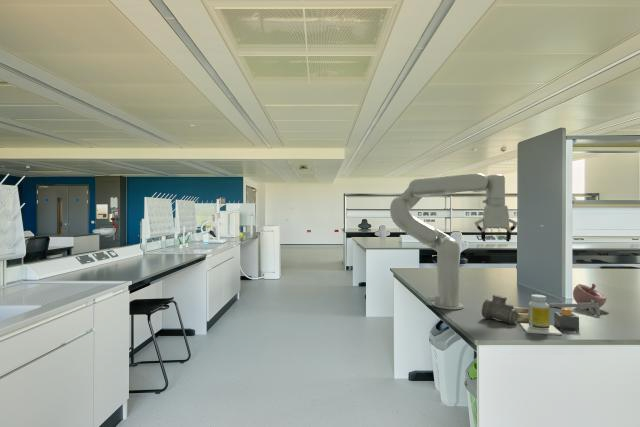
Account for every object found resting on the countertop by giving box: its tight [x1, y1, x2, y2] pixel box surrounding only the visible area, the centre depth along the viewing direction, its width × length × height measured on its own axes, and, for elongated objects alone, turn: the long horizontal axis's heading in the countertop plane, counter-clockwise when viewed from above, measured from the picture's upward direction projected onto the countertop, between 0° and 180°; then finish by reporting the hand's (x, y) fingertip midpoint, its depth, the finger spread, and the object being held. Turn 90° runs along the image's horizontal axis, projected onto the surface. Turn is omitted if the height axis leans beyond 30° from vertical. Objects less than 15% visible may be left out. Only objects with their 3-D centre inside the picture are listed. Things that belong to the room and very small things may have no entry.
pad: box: [519, 322, 563, 336], centre depth 132 cm, size 11×10×1 cm
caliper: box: [547, 300, 601, 317], centre depth 160 cm, size 21×1×6 cm, turn 31°
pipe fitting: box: [481, 294, 518, 325], centre depth 143 cm, size 12×8×10 cm
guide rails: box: [514, 306, 529, 323], centre depth 147 cm, size 10×11×3 cm
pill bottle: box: [528, 294, 550, 330], centre depth 133 cm, size 6×6×12 cm
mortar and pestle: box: [572, 283, 607, 310], centre depth 162 cm, size 12×12×12 cm
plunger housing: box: [553, 311, 580, 332], centre depth 134 cm, size 6×6×5 cm
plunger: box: [560, 307, 572, 316], centre depth 134 cm, size 3×3×5 cm
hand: (495, 241), depth 161 cm, fingers open, 9 cm apart
